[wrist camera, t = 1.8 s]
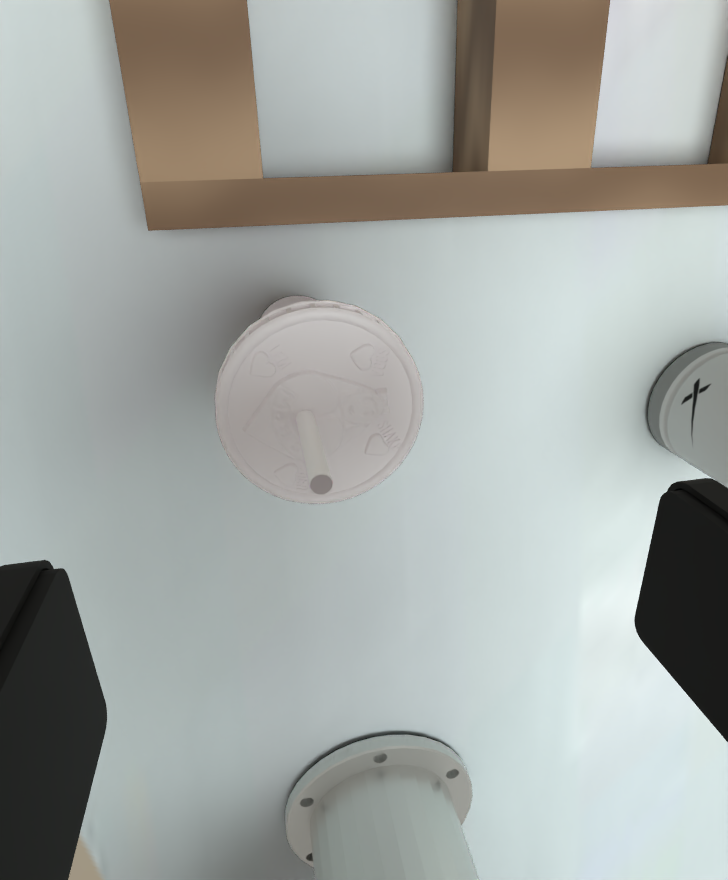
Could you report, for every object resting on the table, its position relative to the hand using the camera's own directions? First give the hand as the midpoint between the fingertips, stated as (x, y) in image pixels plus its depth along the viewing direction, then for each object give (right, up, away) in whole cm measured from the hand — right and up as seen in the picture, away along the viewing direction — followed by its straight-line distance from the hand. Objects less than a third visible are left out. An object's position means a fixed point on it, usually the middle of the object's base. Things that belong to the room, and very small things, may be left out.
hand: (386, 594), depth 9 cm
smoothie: (-3, +7, +17) cm, 19 cm away
